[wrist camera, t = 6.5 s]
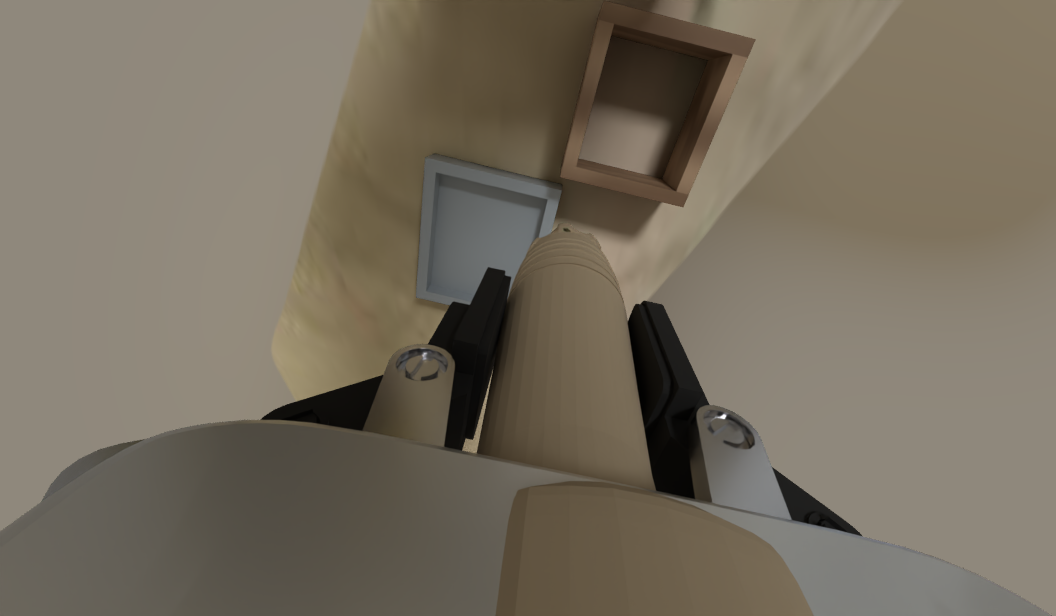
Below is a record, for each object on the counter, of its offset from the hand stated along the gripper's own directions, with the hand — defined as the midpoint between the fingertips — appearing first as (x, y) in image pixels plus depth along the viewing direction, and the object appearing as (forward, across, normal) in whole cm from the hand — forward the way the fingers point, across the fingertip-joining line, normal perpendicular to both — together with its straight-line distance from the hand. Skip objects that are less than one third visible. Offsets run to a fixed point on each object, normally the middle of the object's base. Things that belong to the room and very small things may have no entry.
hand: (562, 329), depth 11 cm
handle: (+6, 0, 0) cm, 6 cm away
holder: (+26, -4, -6) cm, 27 cm away
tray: (+26, +6, +8) cm, 28 cm away
